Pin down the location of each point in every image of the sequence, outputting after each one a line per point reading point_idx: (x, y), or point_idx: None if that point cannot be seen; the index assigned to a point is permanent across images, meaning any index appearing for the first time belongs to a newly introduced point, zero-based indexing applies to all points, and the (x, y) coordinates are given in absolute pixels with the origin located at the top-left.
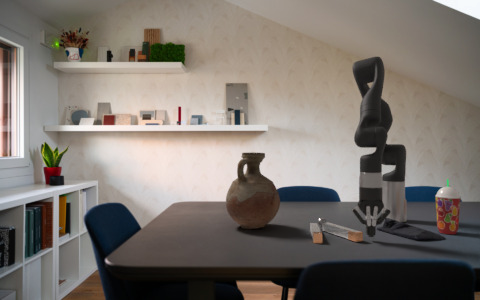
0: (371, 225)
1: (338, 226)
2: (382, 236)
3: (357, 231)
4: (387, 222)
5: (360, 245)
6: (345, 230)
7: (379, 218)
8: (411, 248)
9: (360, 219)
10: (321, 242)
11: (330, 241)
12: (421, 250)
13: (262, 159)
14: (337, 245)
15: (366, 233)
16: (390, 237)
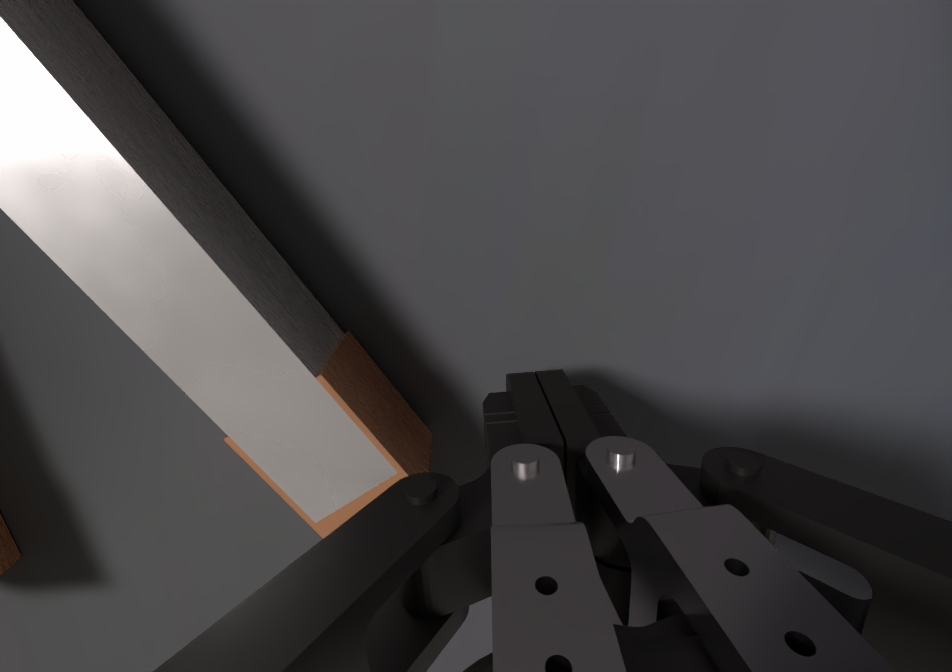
0: (577, 499)
1: (1, 131)
2: (743, 84)
3: (358, 474)
4: None
5: None
6: (182, 376)
7: (813, 532)
8: (814, 556)
9: (370, 666)
10: (3, 564)
11: (84, 465)
12: (862, 593)
13: None
14: (182, 588)
15: (484, 424)
16: (827, 133)
